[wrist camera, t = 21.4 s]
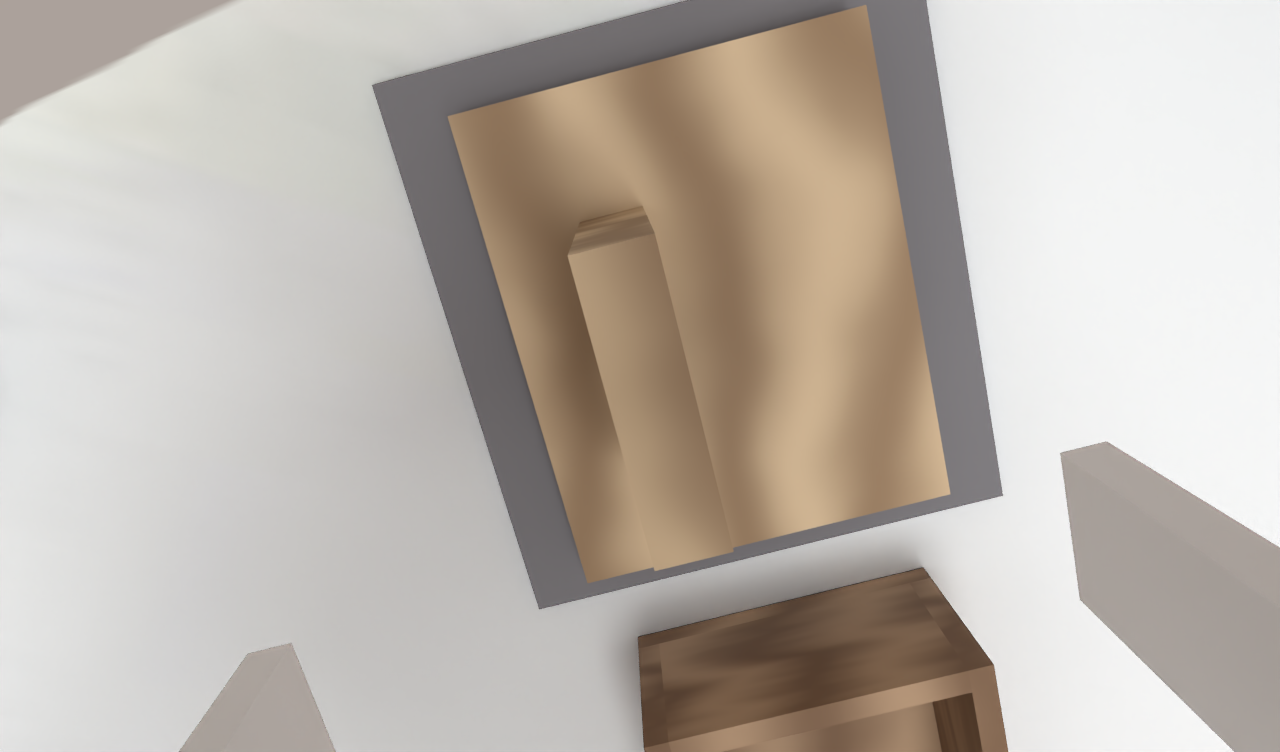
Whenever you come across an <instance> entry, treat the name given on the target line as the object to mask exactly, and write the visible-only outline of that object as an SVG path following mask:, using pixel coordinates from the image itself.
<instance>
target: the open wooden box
mask: <svg viewBox="0 0 1280 752" xmlns="http://www.w3.org/2000/svg"><path fill="white" fill-rule="evenodd" d="M638 648H639V667H640V685H641V704H642V722H643V741H644V750H645V752H1008V747H1007V741H1006V735H1005V729H1004V724H1003V718H1002V712H1001V706H1000V700H999V694H998V688H997V682H996V676H995V670H994V664H993V663H992V662H991V660H990V659H989V658H988V656H987V655H986V653H985V652H984V651H983V649H982V648H981V647H980V645H979V644H978V642H977V641H976V640H975V638H974V637H973V635H972V634H971V633H970V631H969V630H968V629H967V627H966V626H965V624H964V623H963V622H962V620H961V619H960V618H959V616H958V615H957V613H956V612H955V611H954V609H953V608H952V606H951V605H950V604H949V602H948V601H947V600H946V598H945V597H944V595H943V594H942V593H941V591H940V590H939V588H938V587H937V586H936V584H935V583H934V582H933V580H932V579H931V577H930V576H929V575H928V573H927V572H926V571H925V569H924V568H920V569H916V570H912V571H908V572H903V573H899V574H895V575H891V576H887V577H883V578H879V579H875V580H871V581H866V582H862V583H858V584H854V585H850V586H846V587H842V588H838V589H834V590H829V591H825V592H821V593H817V594H813V595H809V596H805V597H801V598H797V599H792V600H788V601H784V602H780V603H776V604H772V605H768V606H764V607H760V608H755V609H751V610H747V611H743V612H739V613H735V614H731V615H727V616H723V617H718V618H714V619H710V620H706V621H702V622H698V623H694V624H690V625H685V626H681V627H677V628H673V629H669V630H665V631H661V632H657V633H653V634H648V635H644V636H640V637H638Z"/></svg>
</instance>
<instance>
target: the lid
mask: <svg viewBox="0 0 1280 752" xmlns="http://www.w3.org/2000/svg"><path fill="white" fill-rule="evenodd" d="M447 117H448V120H449V123H450V127H451V130H452V133H453V137H454V140H455V143H456V147H457V150H458V153H459V157H460V160H461V163H462V167H463V170H464V173H465V177H466V180H467V183H468V187H469V190H470V193H471V197H472V200H473V203H474V207H475V210H476V213H477V217H478V220H479V223H480V227H481V230H482V233H483V237H484V240H485V243H486V247H487V250H488V253H489V257H490V260H491V263H492V267H493V270H494V273H495V277H496V280H497V283H498V287H499V290H500V293H501V297H502V300H503V303H504V307H505V310H506V313H507V317H508V320H509V323H510V327H511V330H512V333H513V337H514V340H515V343H516V347H517V350H518V353H519V357H520V360H521V363H522V366H523V370H524V373H525V376H526V380H527V383H528V386H529V390H530V393H531V396H532V400H533V403H534V406H535V410H536V413H537V416H538V420H539V423H540V426H541V430H542V433H543V436H544V440H545V443H546V446H547V450H548V453H549V456H550V460H551V463H552V466H553V470H554V473H555V476H556V480H557V483H558V486H559V490H560V493H561V496H562V500H563V503H564V506H565V510H566V513H567V516H568V520H569V523H570V526H571V530H572V533H573V536H574V540H575V543H576V546H577V550H578V553H579V556H580V560H581V563H582V566H583V570H584V573H585V576H586V580H587V583H591V582H595V581H600V580H604V579H608V578H612V577H616V576H620V575H624V574H628V573H632V572H636V571H640V570H644V569H648V568H652V567H654V571H658V570H662V569H666V568H670V567H674V566H678V565H682V564H686V563H690V562H694V561H698V560H702V559H706V558H711V557H715V556H719V555H723V554H727V553H731V552H734V551H733V548H734V547H738V546H742V545H746V544H750V543H754V542H758V541H762V540H766V539H770V538H774V537H779V536H783V535H787V534H791V533H795V532H799V531H803V530H807V529H811V528H815V527H819V526H823V525H827V524H831V523H836V522H840V521H844V520H848V519H852V518H856V517H860V516H864V515H868V514H872V513H876V512H880V511H884V510H888V509H892V508H897V507H901V506H905V505H909V504H913V503H917V502H921V501H925V500H929V499H933V498H937V497H941V496H945V495H949V494H950V488H949V482H948V477H947V471H946V465H945V459H944V453H943V448H942V442H941V436H940V430H939V424H938V418H937V413H936V407H935V401H934V395H933V389H932V384H931V378H930V372H929V366H928V360H927V355H926V349H925V343H924V337H923V331H922V325H921V320H920V314H919V308H918V302H917V296H916V291H915V285H914V279H913V273H912V267H911V262H910V256H909V250H908V244H907V238H906V232H905V227H904V221H903V215H902V209H901V203H900V198H899V192H898V186H897V180H896V174H895V169H894V163H893V157H892V151H891V145H890V140H889V134H888V128H887V122H886V116H885V110H884V105H883V99H882V93H881V87H880V81H879V76H878V70H877V64H876V58H875V52H874V47H873V41H872V35H871V29H870V23H869V17H868V12H867V6H866V5H863V6H860V7H856V8H852V9H848V10H845V11H841V12H837V13H833V14H830V15H826V16H822V17H818V18H815V19H811V20H807V21H803V22H800V23H796V24H792V25H788V26H785V27H781V28H777V29H773V30H770V31H766V32H762V33H758V34H755V35H751V36H747V37H743V38H740V39H736V40H732V41H728V42H725V43H721V44H717V45H713V46H710V47H706V48H702V49H698V50H695V51H691V52H687V53H683V54H680V55H676V56H672V57H668V58H665V59H661V60H657V61H653V62H650V63H646V64H642V65H638V66H634V67H631V68H627V69H623V70H619V71H616V72H612V73H608V74H604V75H601V76H597V77H593V78H589V79H586V80H582V81H578V82H574V83H571V84H567V85H563V86H559V87H556V88H552V89H548V90H544V91H541V92H537V93H533V94H529V95H526V96H522V97H518V98H514V99H511V100H507V101H503V102H499V103H496V104H492V105H488V106H484V107H481V108H477V109H473V110H469V111H466V112H462V113H458V114H454V115H451V116H447Z"/></svg>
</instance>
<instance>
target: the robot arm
mask: <svg viewBox="0 0 1280 752" xmlns="http://www.w3.org/2000/svg"><path fill="white" fill-rule="evenodd" d="M1060 455H1061V462H1062V469H1063V477H1064V484H1065V492H1066V499H1067V507H1068V514H1069V521H1070V529H1071V536H1072V544H1073V551H1074V558H1075V566H1076V573H1077V581H1078V588H1079V596H1080V600H1081V601H1082V602H1083V603H1084V604H1085V605H1086V606H1087V607H1088V608H1089V609H1090V610H1091V611H1092V612H1093V613H1094V614H1095V615H1096V616H1097V617H1098V618H1099V619H1100V620H1101V621H1102V622H1103V623H1104V624H1105V625H1106V626H1107V627H1108V628H1109V629H1110V630H1111V631H1112V632H1113V633H1114V634H1115V635H1116V636H1117V637H1118V638H1119V639H1120V640H1122V641H1123V642H1124V643H1125V644H1126V645H1127V646H1128V647H1129V648H1130V649H1131V650H1132V651H1133V652H1134V653H1135V654H1136V655H1137V656H1138V657H1139V658H1140V659H1141V660H1142V661H1143V662H1144V663H1145V664H1146V665H1147V666H1148V667H1149V668H1150V669H1151V670H1152V671H1153V672H1154V673H1155V674H1156V675H1157V676H1158V677H1159V678H1160V679H1161V680H1162V681H1163V682H1164V683H1165V684H1166V685H1167V686H1168V687H1169V688H1170V689H1171V690H1172V691H1173V692H1174V693H1175V694H1176V695H1177V696H1178V697H1179V698H1180V699H1181V700H1182V701H1183V702H1184V703H1185V704H1186V705H1188V706H1189V707H1190V708H1191V709H1192V710H1193V711H1194V712H1195V713H1196V714H1197V715H1198V716H1199V717H1200V718H1201V719H1202V720H1203V721H1204V722H1205V723H1206V724H1207V725H1208V726H1209V727H1210V728H1211V729H1212V730H1213V731H1214V732H1215V733H1216V734H1217V735H1218V736H1219V737H1220V738H1221V739H1222V740H1223V741H1224V742H1225V743H1226V744H1227V745H1228V746H1229V747H1230V748H1231V749H1232V750H1233V751H1234V752H1280V548H1279V547H1278V546H1276V545H1275V544H1273V543H1271V542H1270V541H1268V540H1266V539H1265V538H1263V537H1262V536H1260V535H1258V534H1257V533H1255V532H1253V531H1252V530H1250V529H1248V528H1247V527H1245V526H1244V525H1242V524H1240V523H1239V522H1237V521H1235V520H1234V519H1232V518H1231V517H1229V516H1227V515H1226V514H1224V513H1222V512H1221V511H1219V510H1218V509H1216V508H1214V507H1213V506H1211V505H1209V504H1208V503H1206V502H1204V501H1203V500H1201V499H1200V498H1198V497H1196V496H1195V495H1193V494H1191V493H1190V492H1188V491H1187V490H1185V489H1183V488H1182V487H1180V486H1178V485H1177V484H1175V483H1173V482H1172V481H1170V480H1169V479H1167V478H1165V477H1164V476H1162V475H1160V474H1159V473H1157V472H1156V471H1154V470H1152V469H1151V468H1149V467H1147V466H1146V465H1144V464H1143V463H1141V462H1139V461H1138V460H1136V459H1134V458H1133V457H1131V456H1129V455H1128V454H1126V453H1125V452H1123V451H1121V450H1120V449H1118V448H1116V447H1115V446H1113V445H1112V444H1110V443H1108V442H1102V443H1098V444H1094V445H1090V446H1086V447H1082V448H1078V449H1074V450H1070V451H1066V452H1062V453H1060ZM179 752H335V749H334V747H333V744H332V742H331V739H330V737H329V734H328V732H327V730H326V727H325V725H324V722H323V720H322V717H321V715H320V712H319V710H318V708H317V705H316V703H315V700H314V698H313V695H312V693H311V690H310V688H309V685H308V683H307V681H306V678H305V676H304V673H303V671H302V668H301V666H300V663H299V661H298V659H297V656H296V654H295V651H294V649H293V646H292V644H291V643H289V644H285V645H281V646H277V647H273V648H269V649H265V650H261V651H257V652H253V653H249V654H247V655H246V657H245V658H244V660H243V661H242V663H241V664H240V665H239V667H238V668H237V670H236V671H235V673H234V674H233V675H232V677H231V678H230V680H229V681H228V683H227V684H226V685H225V687H224V688H223V690H222V691H221V692H220V694H219V695H218V697H217V698H216V700H215V701H214V702H213V704H212V705H211V707H210V708H209V710H208V711H207V712H206V714H205V715H204V717H203V718H202V720H201V721H200V722H199V724H198V725H197V727H196V728H195V730H194V731H193V732H192V734H191V735H190V737H189V738H188V740H187V741H186V742H185V744H184V745H183V747H182V748H181V750H180V751H179Z"/></svg>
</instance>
